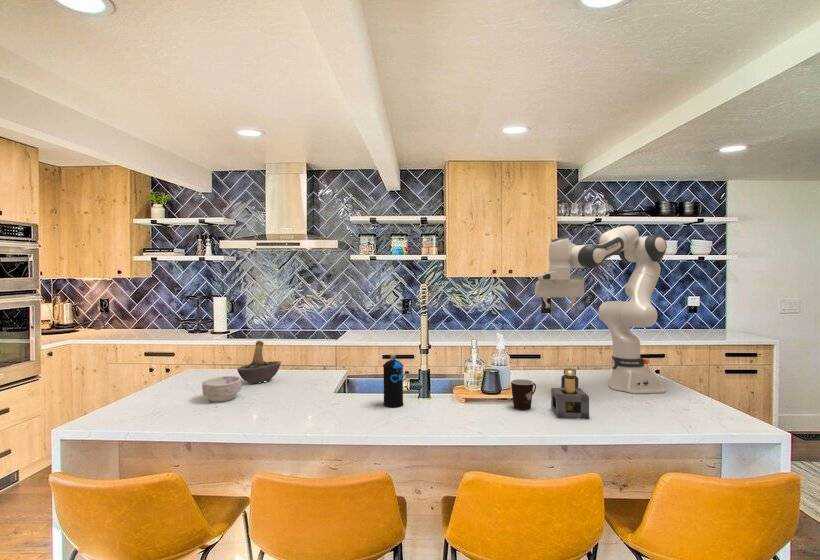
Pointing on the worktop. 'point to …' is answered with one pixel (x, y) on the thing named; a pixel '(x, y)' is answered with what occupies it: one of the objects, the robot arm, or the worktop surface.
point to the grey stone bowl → (221, 388)
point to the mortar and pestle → (259, 367)
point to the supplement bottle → (564, 379)
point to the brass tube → (570, 387)
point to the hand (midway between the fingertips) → (559, 307)
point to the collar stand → (561, 398)
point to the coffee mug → (522, 393)
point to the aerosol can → (393, 383)
